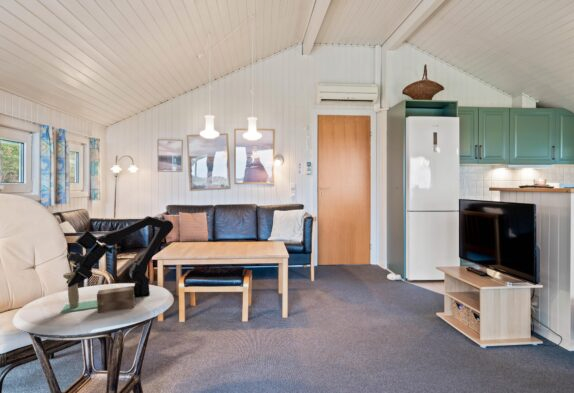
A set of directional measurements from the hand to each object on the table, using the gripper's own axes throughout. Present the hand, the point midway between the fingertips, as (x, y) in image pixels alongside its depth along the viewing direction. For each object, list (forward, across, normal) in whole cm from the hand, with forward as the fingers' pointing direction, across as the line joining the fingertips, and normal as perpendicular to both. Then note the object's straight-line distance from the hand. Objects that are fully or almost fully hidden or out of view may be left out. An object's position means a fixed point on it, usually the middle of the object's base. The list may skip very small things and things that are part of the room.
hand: (67, 284), depth 152 cm
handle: (+6, -1, +9) cm, 11 cm away
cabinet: (-4, +12, +20) cm, 23 cm away
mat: (+5, -1, +11) cm, 12 cm away
